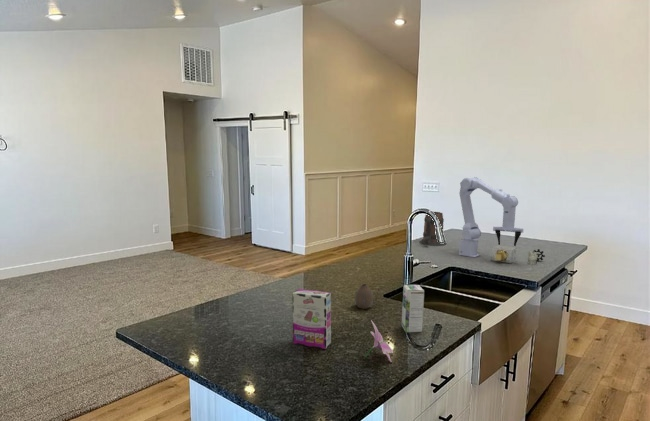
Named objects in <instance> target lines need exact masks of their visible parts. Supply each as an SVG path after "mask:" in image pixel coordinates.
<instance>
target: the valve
mask: <svg viewBox="0 0 650 421" xmlns="http://www.w3.org/2000/svg"><path fill="white" fill-rule="evenodd" d="M543 253H544V250H541V249H539V248H538V249H537V250H536V249H534V250H532V251H528V253H527V255H528V256H527V265H531V266H536V264H537V262H539V261H543V260H544V258H545V257H546V255H545V254H543Z"/></svg>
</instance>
